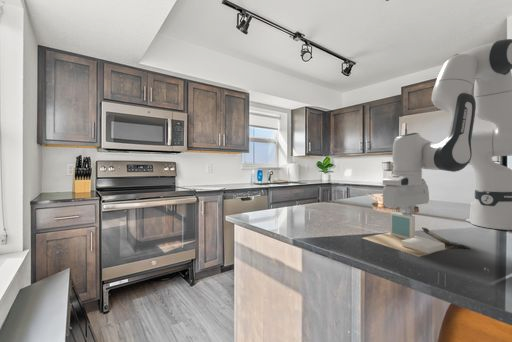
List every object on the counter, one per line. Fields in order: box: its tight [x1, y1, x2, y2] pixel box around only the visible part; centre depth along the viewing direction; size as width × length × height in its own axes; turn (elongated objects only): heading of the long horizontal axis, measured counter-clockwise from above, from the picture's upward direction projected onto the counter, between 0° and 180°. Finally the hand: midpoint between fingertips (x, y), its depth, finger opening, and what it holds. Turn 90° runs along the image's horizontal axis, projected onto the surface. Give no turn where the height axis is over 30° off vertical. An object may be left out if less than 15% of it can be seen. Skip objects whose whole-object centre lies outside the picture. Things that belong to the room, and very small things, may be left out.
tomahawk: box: [421, 227, 472, 250], centre depth 84 cm, size 21×7×1 cm, turn 166°
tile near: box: [402, 236, 446, 255], centre depth 76 cm, size 2×8×8 cm
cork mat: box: [362, 231, 454, 258], centre depth 82 cm, size 18×20×1 cm
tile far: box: [389, 211, 416, 239], centre depth 87 cm, size 2×8×8 cm, turn 24°
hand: (407, 218), depth 88 cm, fingers closed
